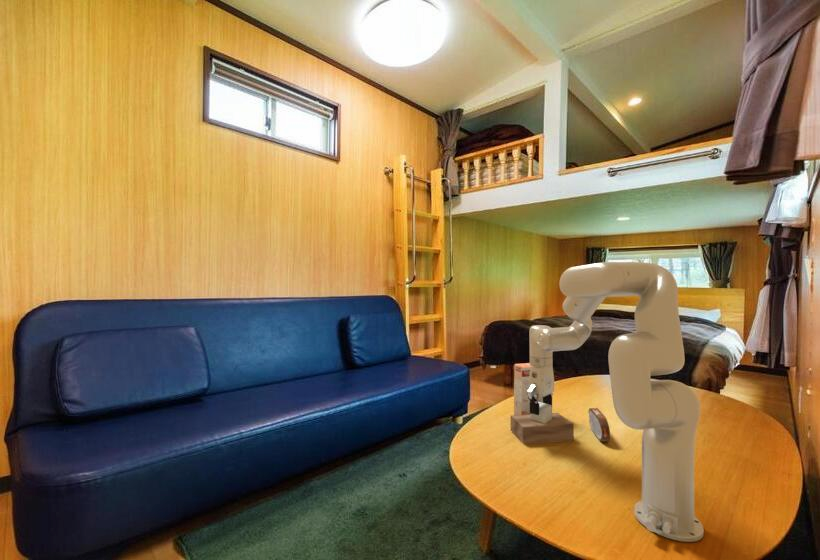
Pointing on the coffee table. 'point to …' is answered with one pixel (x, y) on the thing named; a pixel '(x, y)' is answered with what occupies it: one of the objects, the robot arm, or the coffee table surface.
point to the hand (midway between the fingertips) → (541, 410)
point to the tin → (599, 424)
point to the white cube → (543, 413)
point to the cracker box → (522, 389)
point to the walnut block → (542, 429)
